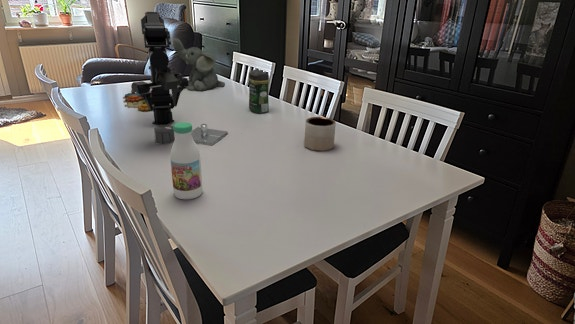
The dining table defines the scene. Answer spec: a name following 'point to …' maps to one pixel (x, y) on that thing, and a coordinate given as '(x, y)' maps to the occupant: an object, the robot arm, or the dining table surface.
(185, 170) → the milk bottle
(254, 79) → the coffee jar
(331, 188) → the dining table surface
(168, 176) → the dining table surface
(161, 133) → the knob
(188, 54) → the stuffed elephant
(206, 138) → the mounting plate
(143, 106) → the gear puzzle
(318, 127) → the planter
